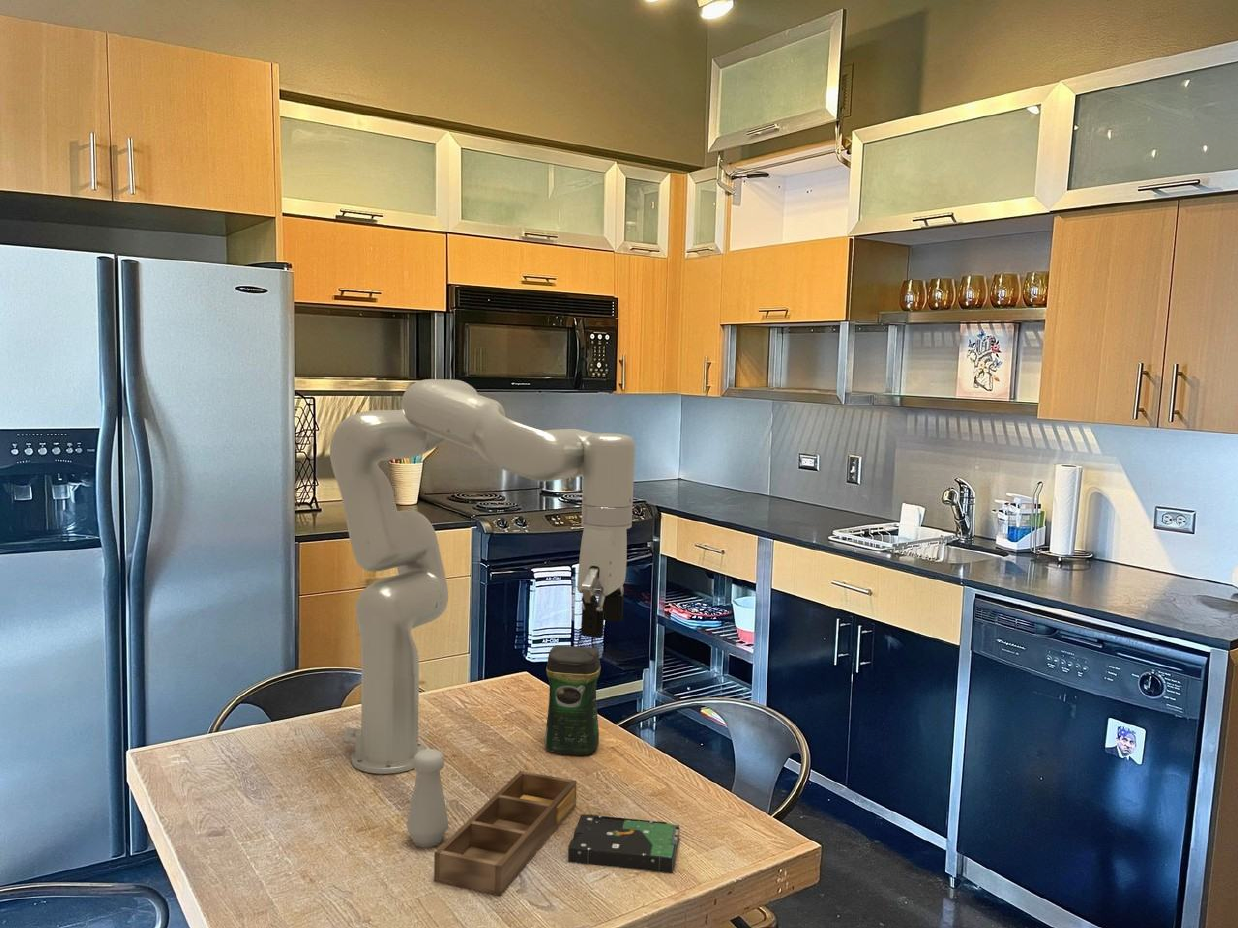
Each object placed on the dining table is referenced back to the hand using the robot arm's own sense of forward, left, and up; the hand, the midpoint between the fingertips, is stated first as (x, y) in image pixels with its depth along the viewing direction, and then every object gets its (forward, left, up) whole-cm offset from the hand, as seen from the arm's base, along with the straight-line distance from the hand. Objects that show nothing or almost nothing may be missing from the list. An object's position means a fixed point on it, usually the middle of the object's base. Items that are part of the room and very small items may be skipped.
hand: (602, 628), depth 140 cm
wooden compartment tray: (-8, -13, -29) cm, 33 cm away
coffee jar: (-13, +22, -29) cm, 39 cm away
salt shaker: (-19, -17, -29) cm, 39 cm away
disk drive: (+8, -9, -30) cm, 32 cm away
